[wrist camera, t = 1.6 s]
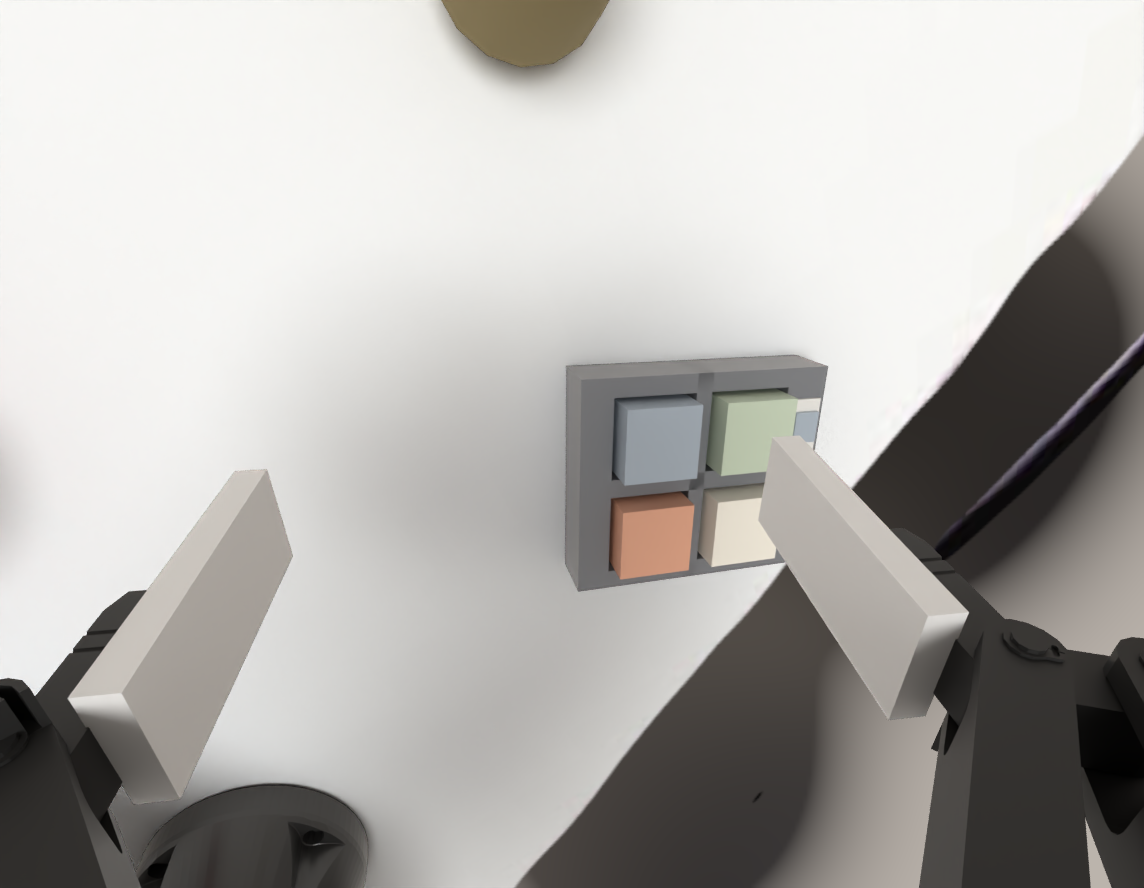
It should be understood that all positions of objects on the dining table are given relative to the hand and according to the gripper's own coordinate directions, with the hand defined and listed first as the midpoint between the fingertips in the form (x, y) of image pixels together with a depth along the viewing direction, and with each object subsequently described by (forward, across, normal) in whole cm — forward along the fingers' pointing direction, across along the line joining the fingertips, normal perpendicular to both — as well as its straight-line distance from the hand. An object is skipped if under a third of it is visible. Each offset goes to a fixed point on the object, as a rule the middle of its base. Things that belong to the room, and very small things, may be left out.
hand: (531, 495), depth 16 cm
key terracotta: (+18, -8, +15) cm, 24 cm away
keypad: (+21, -11, +12) cm, 27 cm away
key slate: (+19, -8, +8) cm, 22 cm away
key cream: (+19, -14, +15) cm, 28 cm away
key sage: (+20, -14, +9) cm, 26 cm away
